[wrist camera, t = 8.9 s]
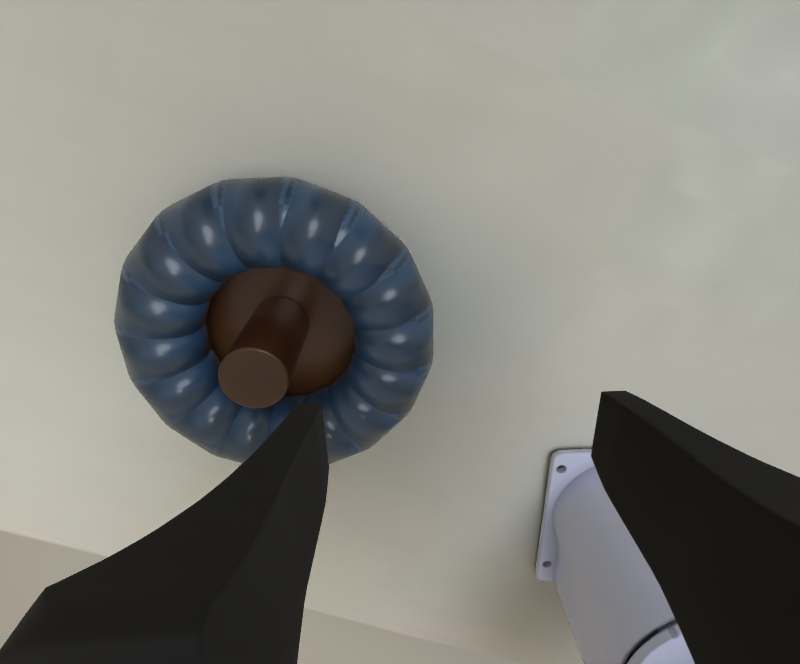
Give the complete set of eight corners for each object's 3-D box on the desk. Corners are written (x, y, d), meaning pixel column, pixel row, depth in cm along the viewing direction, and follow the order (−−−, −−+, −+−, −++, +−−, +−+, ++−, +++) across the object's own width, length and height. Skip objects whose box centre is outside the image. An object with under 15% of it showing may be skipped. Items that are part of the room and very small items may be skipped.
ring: (430, 433, 24) (436, 478, 21) (176, 444, 23) (146, 490, 20) (429, 168, 18) (437, 177, 16) (104, 179, 18) (50, 190, 15)
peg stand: (377, 386, 24) (374, 468, 18) (213, 391, 23) (160, 476, 18) (369, 223, 20) (364, 262, 15) (179, 227, 20) (102, 269, 15)
